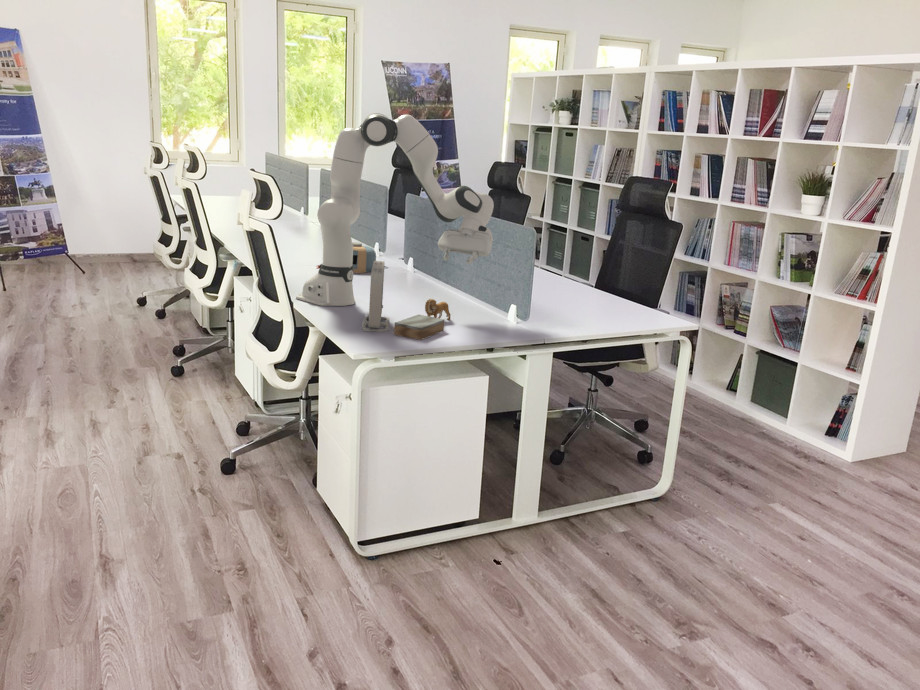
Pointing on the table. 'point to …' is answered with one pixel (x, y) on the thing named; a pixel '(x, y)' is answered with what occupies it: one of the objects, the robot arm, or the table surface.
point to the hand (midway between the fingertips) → (457, 261)
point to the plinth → (419, 327)
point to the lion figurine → (436, 308)
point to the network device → (376, 300)
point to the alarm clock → (363, 258)
